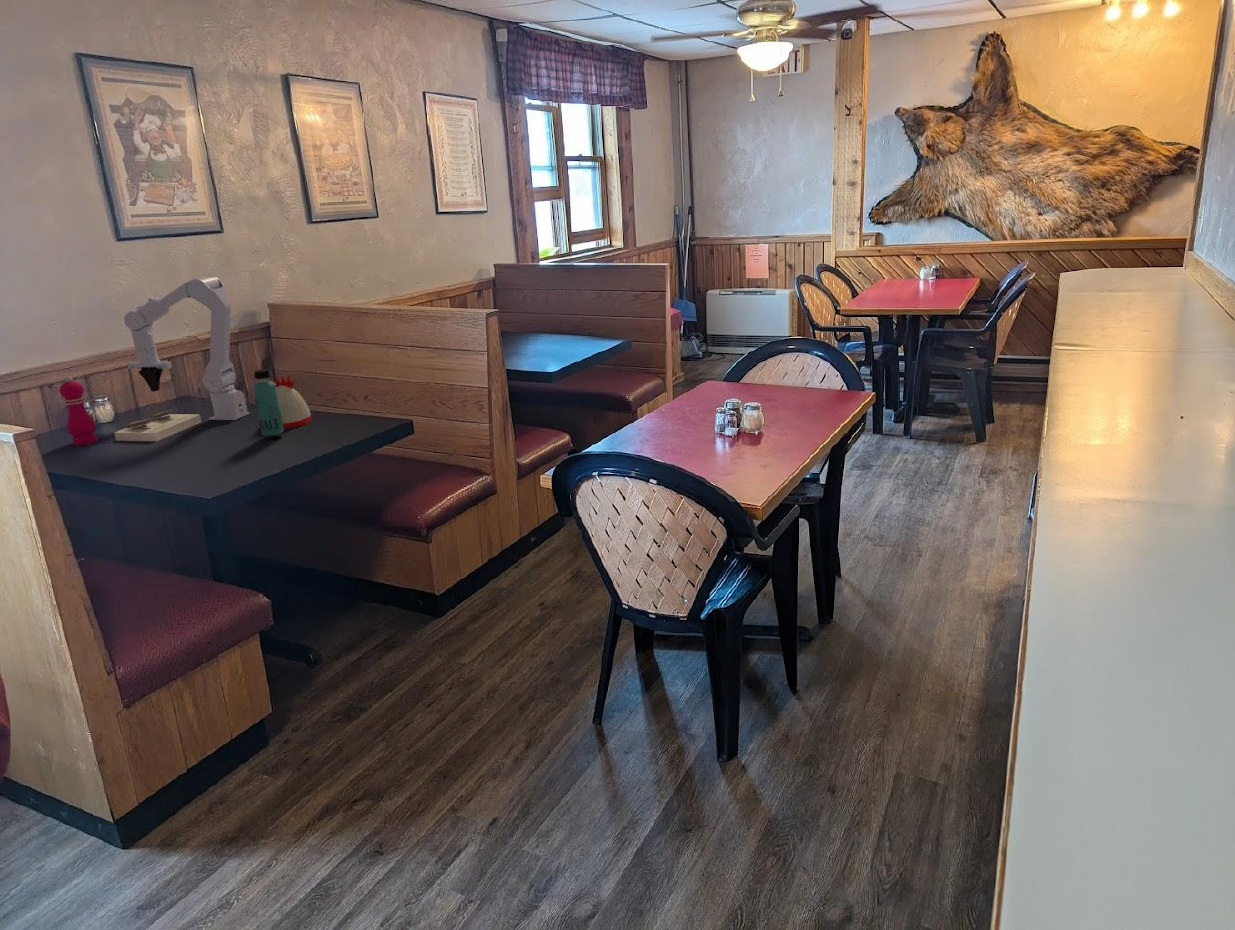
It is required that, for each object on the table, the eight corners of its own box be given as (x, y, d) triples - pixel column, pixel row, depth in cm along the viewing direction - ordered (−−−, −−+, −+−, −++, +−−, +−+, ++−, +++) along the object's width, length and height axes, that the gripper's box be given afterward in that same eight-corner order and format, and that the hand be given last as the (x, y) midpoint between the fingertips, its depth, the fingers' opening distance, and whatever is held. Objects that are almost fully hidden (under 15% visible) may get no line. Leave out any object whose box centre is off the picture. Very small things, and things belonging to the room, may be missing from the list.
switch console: (201, 422, 269) (199, 412, 268) (156, 441, 251) (154, 431, 250) (163, 421, 272) (161, 412, 271) (116, 440, 254) (113, 430, 253)
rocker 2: (178, 410, 266) (176, 407, 266) (169, 414, 262) (167, 410, 262) (161, 416, 268) (159, 412, 268) (151, 419, 264) (150, 416, 264)
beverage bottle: (278, 432, 253) (265, 366, 247) (290, 436, 249) (277, 368, 243) (257, 438, 248) (244, 371, 242) (269, 441, 244) (256, 373, 238)
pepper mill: (86, 446, 250) (68, 379, 243) (65, 445, 251) (47, 379, 245) (105, 438, 257) (88, 373, 250) (84, 438, 258) (67, 373, 252)
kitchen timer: (311, 425, 259) (302, 377, 254) (262, 431, 255) (253, 382, 251) (311, 414, 272) (303, 368, 267) (265, 420, 268) (256, 373, 263)
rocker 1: (155, 420, 257) (154, 416, 257) (146, 424, 253) (144, 420, 253) (137, 424, 259) (135, 421, 259) (127, 428, 255) (126, 425, 255)
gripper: (174, 345, 270) (183, 387, 275) (135, 346, 274) (145, 387, 278) (158, 350, 264) (168, 393, 268) (118, 350, 267) (129, 392, 271)
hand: (155, 390), depth 273 cm, fingers closed
